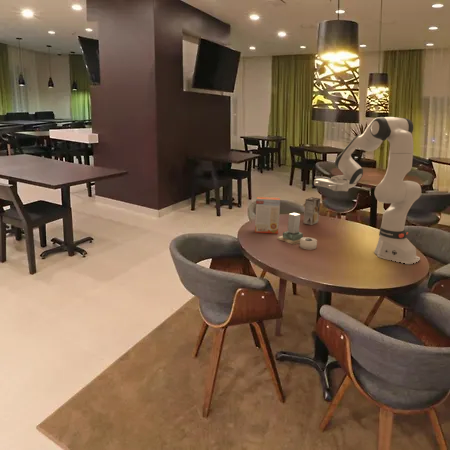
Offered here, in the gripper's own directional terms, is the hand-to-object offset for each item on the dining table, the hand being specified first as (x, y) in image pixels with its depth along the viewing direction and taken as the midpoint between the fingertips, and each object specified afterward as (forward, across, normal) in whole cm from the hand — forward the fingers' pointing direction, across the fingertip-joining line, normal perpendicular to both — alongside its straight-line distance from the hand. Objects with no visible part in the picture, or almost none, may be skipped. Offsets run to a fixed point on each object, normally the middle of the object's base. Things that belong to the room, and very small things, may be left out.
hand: (321, 185), depth 242 cm
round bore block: (+20, +10, +30) cm, 37 cm away
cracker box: (+20, -22, +30) cm, 42 cm away
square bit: (+18, -3, +29) cm, 34 cm away
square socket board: (+18, -3, +30) cm, 35 cm away
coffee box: (-19, -20, +30) cm, 41 cm away
